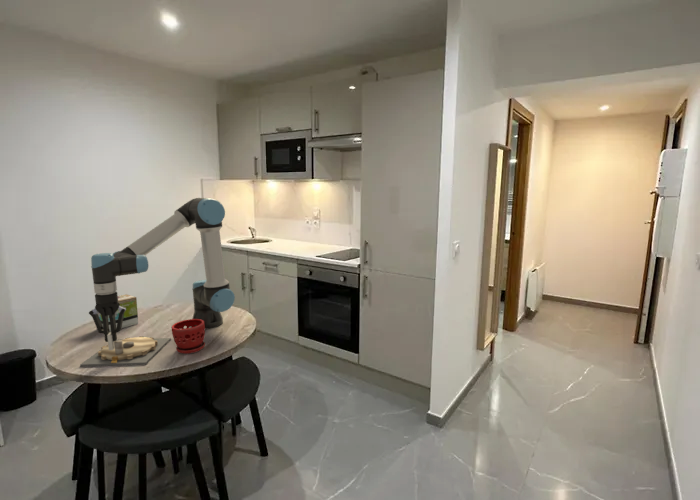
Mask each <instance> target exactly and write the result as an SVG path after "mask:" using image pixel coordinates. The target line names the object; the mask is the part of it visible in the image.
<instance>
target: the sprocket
mask: <svg viewBox="0 0 700 500" xmlns="http://www.w3.org/2000/svg"><path fill="white" fill-rule="evenodd" d="M154 338H155V337H152V336H150V337H144V336H143V335H142V336H136V337H125V338H122V339H123V340H120V339H117V340H118V341H115V342H114V345H115V348H114V349H113V350H109V347H108V344H107V346H106V345H103V346H102V347H100V350H101V351H100V350H98V351H97V352H98V356H101V359H102V360H106V359H108V360H112V361H117V360H123V359H133V358H134V357H137V356H140V355H146V354H147V353H148V352H149V351H151V350H155V349H156V345H158V343H157V340H155V341H154Z"/></svg>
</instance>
